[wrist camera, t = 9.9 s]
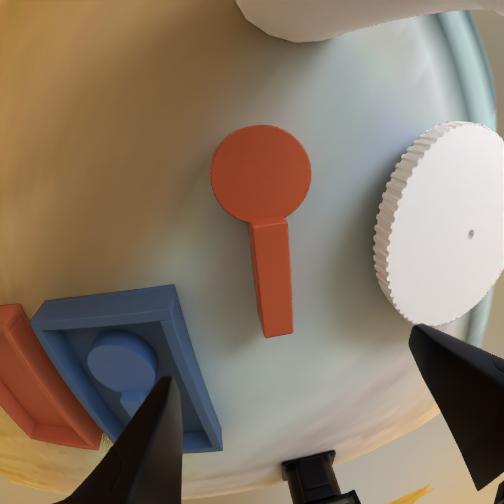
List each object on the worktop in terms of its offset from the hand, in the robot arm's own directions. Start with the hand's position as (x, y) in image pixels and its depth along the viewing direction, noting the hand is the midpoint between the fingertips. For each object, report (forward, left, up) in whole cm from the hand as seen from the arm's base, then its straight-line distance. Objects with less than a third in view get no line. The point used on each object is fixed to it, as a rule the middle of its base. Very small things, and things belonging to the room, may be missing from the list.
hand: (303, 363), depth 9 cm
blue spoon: (-8, +10, -7) cm, 15 cm away
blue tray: (-8, +10, -8) cm, 15 cm away
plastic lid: (+1, -13, -8) cm, 15 cm away
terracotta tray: (-8, +22, -8) cm, 25 cm away
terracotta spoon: (+2, 0, -8) cm, 8 cm away
